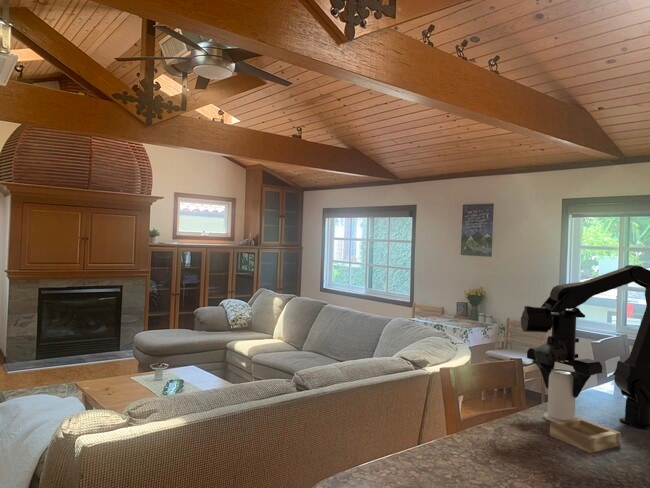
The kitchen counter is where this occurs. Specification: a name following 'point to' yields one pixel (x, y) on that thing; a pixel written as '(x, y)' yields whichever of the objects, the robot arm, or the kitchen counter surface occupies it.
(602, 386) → the kitchen counter surface
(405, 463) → the kitchen counter surface
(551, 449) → the kitchen counter surface
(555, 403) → the can
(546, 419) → the coaster
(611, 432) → the socket block
